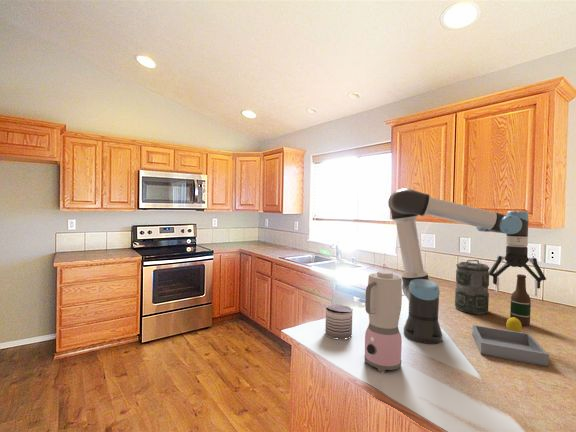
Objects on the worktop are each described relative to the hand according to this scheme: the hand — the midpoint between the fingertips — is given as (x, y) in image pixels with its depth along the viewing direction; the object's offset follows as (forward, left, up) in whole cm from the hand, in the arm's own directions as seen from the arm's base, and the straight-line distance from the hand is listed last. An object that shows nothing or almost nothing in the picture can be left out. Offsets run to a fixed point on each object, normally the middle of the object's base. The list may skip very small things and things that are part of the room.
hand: (515, 293), depth 130 cm
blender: (-51, -55, -19) cm, 77 cm away
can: (-70, -36, -19) cm, 81 cm away
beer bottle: (+7, +19, -19) cm, 27 cm away
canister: (-12, +31, -19) cm, 38 cm away
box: (-7, -19, -18) cm, 27 cm away
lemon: (0, 0, -19) cm, 19 cm away
